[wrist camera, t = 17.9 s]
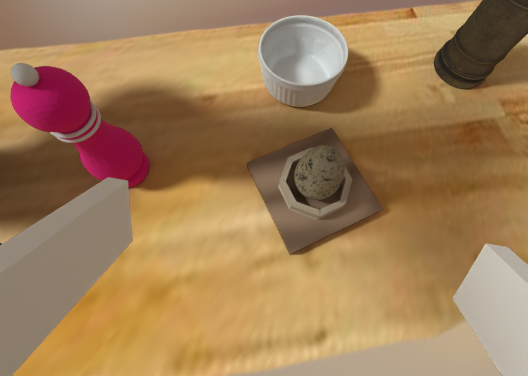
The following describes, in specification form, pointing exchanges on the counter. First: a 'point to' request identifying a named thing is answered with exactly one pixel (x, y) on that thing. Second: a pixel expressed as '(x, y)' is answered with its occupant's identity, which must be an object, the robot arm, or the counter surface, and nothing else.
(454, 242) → the counter surface
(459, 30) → the container
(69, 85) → the pepper mill
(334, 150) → the decorative egg
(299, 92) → the ramekin
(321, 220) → the egg stand
